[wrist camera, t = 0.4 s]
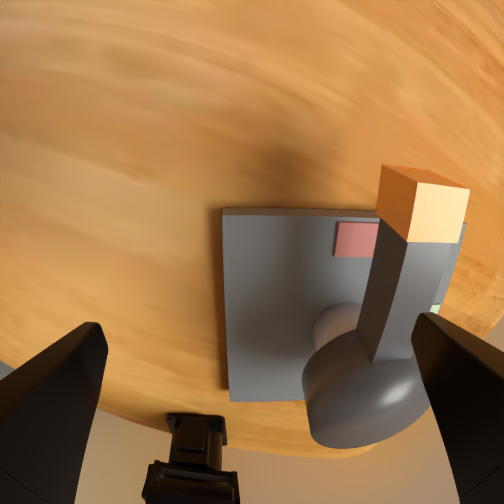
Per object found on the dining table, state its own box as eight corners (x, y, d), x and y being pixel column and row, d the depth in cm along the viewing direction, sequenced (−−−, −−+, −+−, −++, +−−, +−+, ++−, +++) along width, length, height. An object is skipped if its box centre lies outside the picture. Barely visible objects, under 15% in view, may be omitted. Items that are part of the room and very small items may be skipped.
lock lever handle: (391, 395, 21) (408, 436, 17) (294, 407, 20) (301, 454, 17) (465, 176, 13) (516, 201, 9) (329, 159, 13) (363, 182, 9)
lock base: (400, 376, 28) (418, 416, 23) (230, 389, 28) (228, 438, 23) (456, 216, 20) (500, 247, 15) (223, 207, 20) (216, 244, 15)
